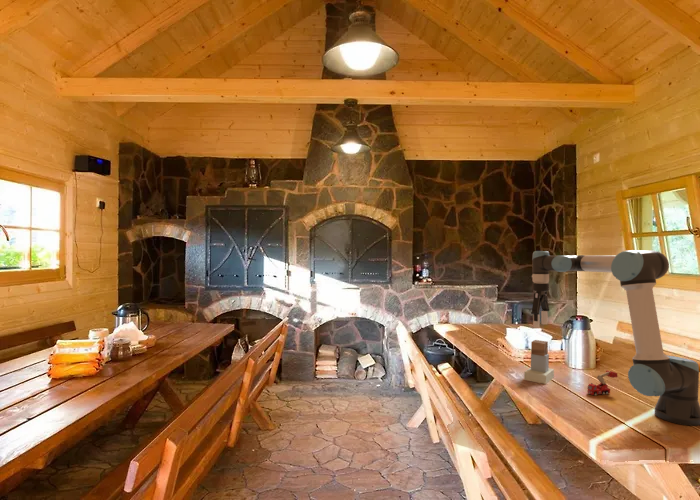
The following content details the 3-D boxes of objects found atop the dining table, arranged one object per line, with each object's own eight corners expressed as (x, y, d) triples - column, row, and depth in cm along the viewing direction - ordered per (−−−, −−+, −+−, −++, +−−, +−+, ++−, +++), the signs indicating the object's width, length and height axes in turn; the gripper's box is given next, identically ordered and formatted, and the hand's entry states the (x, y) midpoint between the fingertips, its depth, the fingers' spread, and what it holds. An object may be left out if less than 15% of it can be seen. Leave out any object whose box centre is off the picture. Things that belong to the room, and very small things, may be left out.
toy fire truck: (586, 393, 198) (586, 371, 198) (611, 391, 202) (611, 369, 202) (592, 396, 195) (592, 374, 195) (617, 393, 199) (617, 371, 199)
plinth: (545, 384, 211) (546, 375, 211) (524, 379, 218) (524, 371, 218) (553, 377, 222) (554, 368, 222) (533, 373, 229) (533, 365, 229)
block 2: (545, 372, 216) (546, 356, 216) (530, 370, 220) (530, 353, 220) (548, 370, 220) (548, 354, 220) (533, 367, 224) (533, 351, 224)
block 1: (544, 356, 216) (544, 343, 216) (531, 354, 219) (531, 341, 219) (547, 353, 220) (547, 341, 220) (535, 351, 224) (535, 339, 224)
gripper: (540, 280, 231) (539, 321, 231) (524, 283, 212) (524, 328, 212) (555, 281, 227) (555, 323, 227) (541, 284, 207) (541, 330, 207)
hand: (540, 326), depth 219 cm, fingers open, 13 cm apart
